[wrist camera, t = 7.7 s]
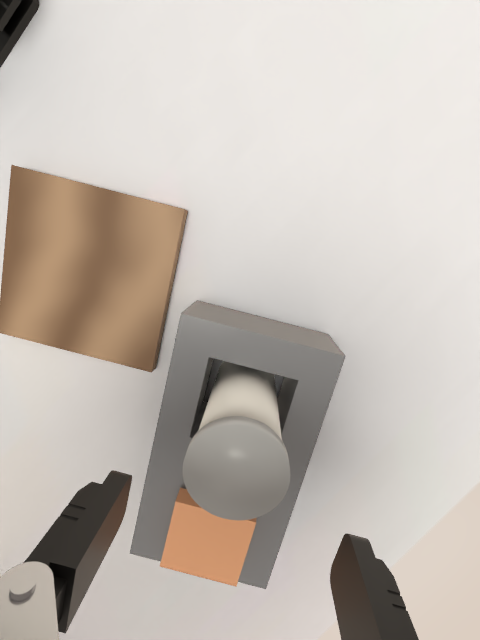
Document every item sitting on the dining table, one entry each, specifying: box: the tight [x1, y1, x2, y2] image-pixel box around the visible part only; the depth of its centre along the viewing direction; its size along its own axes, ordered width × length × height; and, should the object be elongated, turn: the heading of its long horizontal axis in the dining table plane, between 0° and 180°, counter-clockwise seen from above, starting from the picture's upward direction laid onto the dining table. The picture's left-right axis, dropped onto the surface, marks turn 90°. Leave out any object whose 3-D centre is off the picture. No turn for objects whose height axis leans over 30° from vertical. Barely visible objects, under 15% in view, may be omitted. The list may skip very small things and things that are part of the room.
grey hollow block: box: [130, 301, 345, 589], centre depth 24 cm, size 10×18×5 cm, turn 166°
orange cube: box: [160, 488, 256, 586], centre depth 23 cm, size 5×5×5 cm
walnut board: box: [0, 165, 188, 372], centre depth 24 cm, size 12×12×1 cm
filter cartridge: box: [183, 361, 290, 520], centre depth 20 cm, size 5×5×11 cm
